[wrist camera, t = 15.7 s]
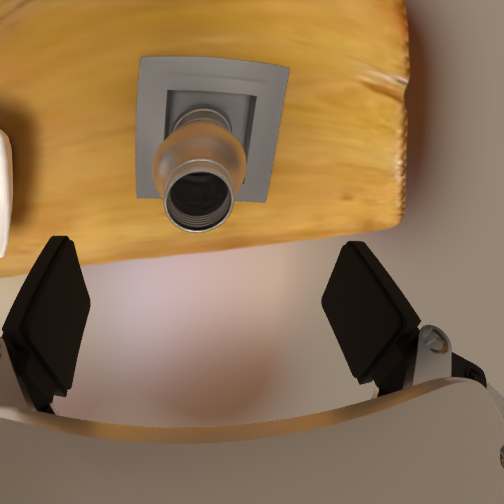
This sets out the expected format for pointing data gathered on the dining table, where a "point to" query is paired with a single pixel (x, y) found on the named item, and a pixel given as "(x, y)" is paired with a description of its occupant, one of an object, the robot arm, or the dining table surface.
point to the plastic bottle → (199, 169)
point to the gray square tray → (216, 94)
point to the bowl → (5, 191)
